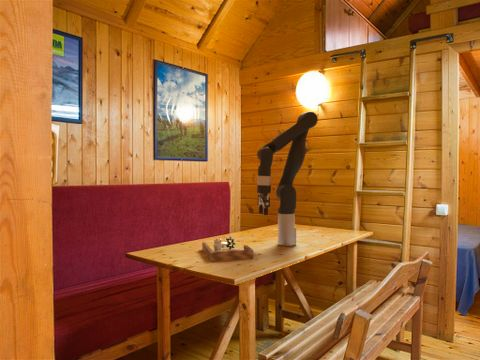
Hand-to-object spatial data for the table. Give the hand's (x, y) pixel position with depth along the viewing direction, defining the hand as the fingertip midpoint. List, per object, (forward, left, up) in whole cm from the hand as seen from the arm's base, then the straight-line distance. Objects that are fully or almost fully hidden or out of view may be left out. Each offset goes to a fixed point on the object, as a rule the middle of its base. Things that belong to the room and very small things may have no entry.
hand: (263, 214), depth 201 cm
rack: (+24, +14, -17) cm, 32 cm away
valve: (+24, +6, -18) cm, 30 cm away
